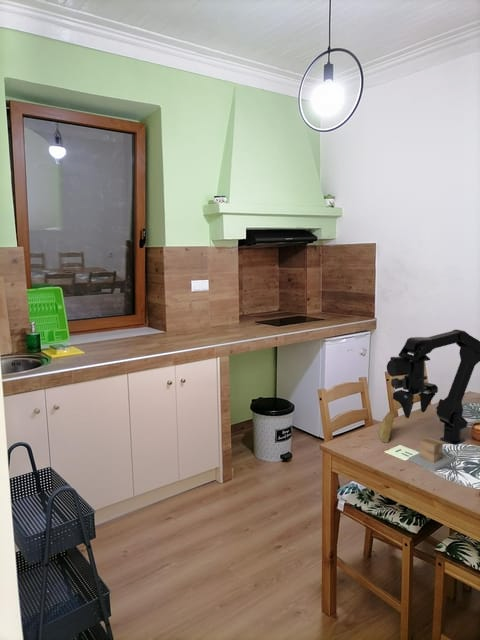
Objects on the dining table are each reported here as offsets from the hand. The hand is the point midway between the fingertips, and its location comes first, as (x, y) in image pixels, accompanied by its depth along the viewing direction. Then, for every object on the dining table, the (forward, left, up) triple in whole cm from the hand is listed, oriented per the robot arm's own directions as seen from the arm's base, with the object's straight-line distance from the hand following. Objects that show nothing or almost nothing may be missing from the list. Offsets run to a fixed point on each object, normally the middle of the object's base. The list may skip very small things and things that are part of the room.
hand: (415, 414), depth 166 cm
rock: (+1, -13, -13) cm, 18 cm away
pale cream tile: (+7, 0, -12) cm, 14 cm away
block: (+5, +10, -12) cm, 16 cm away
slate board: (+5, +10, -12) cm, 17 cm away
